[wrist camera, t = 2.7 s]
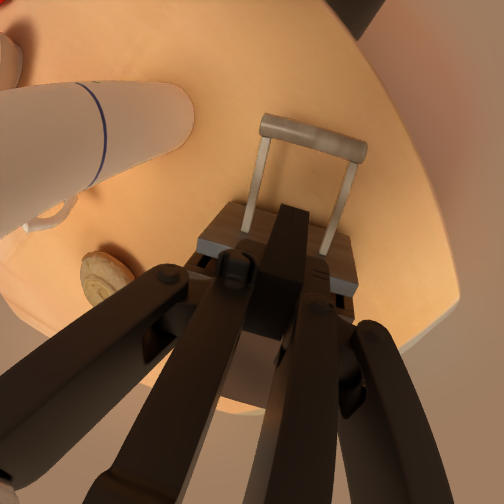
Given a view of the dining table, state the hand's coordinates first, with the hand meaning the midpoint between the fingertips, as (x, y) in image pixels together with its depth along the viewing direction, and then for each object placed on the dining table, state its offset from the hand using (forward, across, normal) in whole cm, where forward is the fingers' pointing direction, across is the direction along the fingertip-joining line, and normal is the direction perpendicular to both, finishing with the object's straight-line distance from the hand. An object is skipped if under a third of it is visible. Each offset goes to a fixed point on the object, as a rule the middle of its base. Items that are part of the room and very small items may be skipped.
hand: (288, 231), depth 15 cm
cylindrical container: (+11, -14, +3) cm, 18 cm away
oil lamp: (+12, -17, -19) cm, 28 cm away
